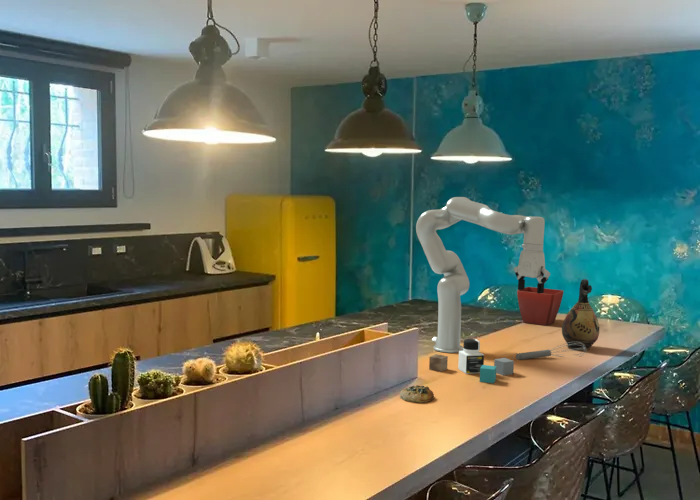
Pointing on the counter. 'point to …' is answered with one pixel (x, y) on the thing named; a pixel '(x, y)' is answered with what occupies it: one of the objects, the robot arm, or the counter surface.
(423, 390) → the bread roll
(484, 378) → the deep teal block
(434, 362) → the walnut block
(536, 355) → the kitchen whisk
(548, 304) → the plant pot
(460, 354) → the medicine bottle
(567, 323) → the ceramic jug
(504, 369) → the slate grey block
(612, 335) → the counter surface
